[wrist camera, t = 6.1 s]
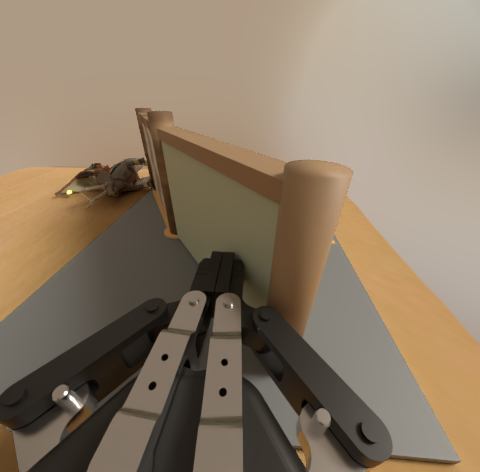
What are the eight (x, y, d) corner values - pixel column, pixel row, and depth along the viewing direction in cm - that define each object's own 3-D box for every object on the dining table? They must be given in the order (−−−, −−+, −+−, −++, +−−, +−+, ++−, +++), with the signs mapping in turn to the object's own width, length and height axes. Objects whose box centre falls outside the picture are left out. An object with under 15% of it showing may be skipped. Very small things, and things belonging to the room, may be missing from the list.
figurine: (134, 172, 32) (13, 187, 31) (147, 208, 35) (39, 223, 34) (157, 146, 49) (79, 156, 47) (164, 173, 52) (92, 182, 51)
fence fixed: (190, 233, 29) (174, 112, 21) (172, 237, 28) (148, 112, 20) (164, 185, 44) (149, 104, 36) (151, 186, 43) (133, 104, 35)
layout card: (-96, 410, 13) (-105, 406, 12) (154, 187, 44) (153, 184, 43) (455, 463, 11) (462, 460, 11) (309, 193, 42) (310, 190, 42)
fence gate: (174, 237, 27) (152, 121, 20) (192, 231, 28) (177, 120, 21) (276, 382, 14) (322, 183, 6) (302, 361, 15) (367, 171, 8)
